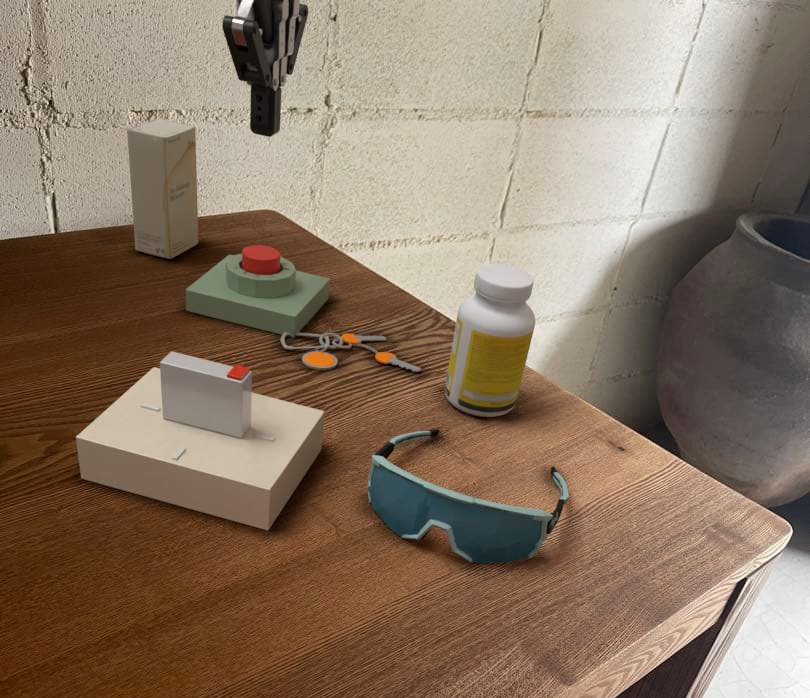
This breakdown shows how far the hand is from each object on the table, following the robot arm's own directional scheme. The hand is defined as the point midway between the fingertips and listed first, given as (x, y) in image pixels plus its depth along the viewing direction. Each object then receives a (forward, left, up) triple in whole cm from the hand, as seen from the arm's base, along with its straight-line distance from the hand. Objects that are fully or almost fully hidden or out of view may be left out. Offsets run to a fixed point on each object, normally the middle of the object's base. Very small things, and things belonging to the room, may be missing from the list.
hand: (264, 133), depth 75 cm
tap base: (+7, -27, -16) cm, 32 cm away
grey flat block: (+7, -27, -12) cm, 31 cm away
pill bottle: (+24, -8, -16) cm, 30 cm away
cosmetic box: (-14, +8, -16) cm, 23 cm away
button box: (0, 0, -16) cm, 16 cm away
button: (0, 0, -12) cm, 12 cm away
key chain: (+11, -5, -16) cm, 20 cm away
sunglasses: (+26, -23, -16) cm, 38 cm away
